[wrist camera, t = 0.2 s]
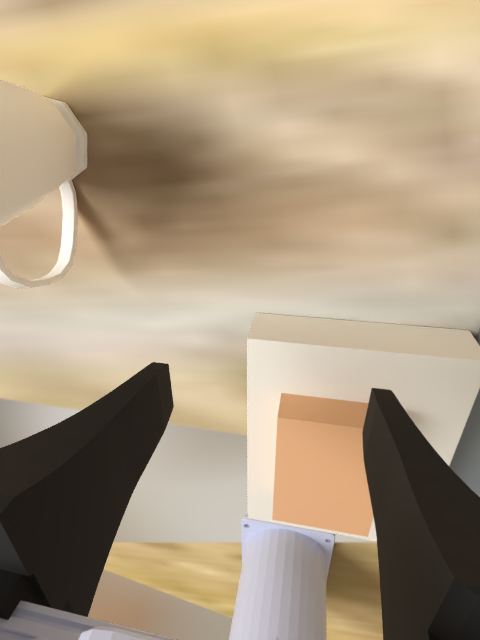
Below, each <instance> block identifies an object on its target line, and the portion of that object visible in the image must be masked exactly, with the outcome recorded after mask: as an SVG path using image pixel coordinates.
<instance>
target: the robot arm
mask: <svg viewBox="0 0 480 640" xmlns="http://www.w3.org/2000/svg"><path fill="white" fill-rule="evenodd" d="M173 407H174V406H173V398H172V389H171V381H170V373H169V365H168V364H164V363H155V362H153V363H151V364H150V365H148V366H147V367H145V368H144V369H142V370H141V371H140V372H138V373H137V374H135V375H134V376H133V377H131V378H130V379H129V380H127V381H126V382H124V383H123V384H121V385H120V386H119V387H117V388H116V389H114V390H113V391H111V392H110V393H109V394H107V395H105V396H104V397H102V398H101V399H99V400H98V401H96V402H94V403H93V404H91V405H90V406H88V407H87V408H85V409H83V410H82V411H80V412H78V413H76V414H75V415H73V416H71V417H69V418H67V419H66V420H64V421H62V422H60V423H58V424H56V425H54V426H52V427H50V428H48V429H45V430H43V431H41V432H39V433H37V434H34V435H32V436H30V437H28V438H25V439H23V440H20V441H18V442H15V443H13V444H11V445H8V446H5V447H2V448H0V640H177V639H173V638H169V637H165V636H161V635H157V634H153V633H149V632H145V631H141V630H137V629H133V628H129V627H125V626H121V625H117V624H113V623H109V622H105V621H101V620H97V619H93V618H89V617H88V613H89V611H90V608H91V604H92V601H93V598H94V595H95V592H96V589H97V586H98V583H99V580H100V577H101V574H102V572H103V569H104V566H105V563H106V560H107V557H108V554H109V552H110V549H111V546H112V544H113V541H114V538H115V536H116V533H117V530H118V527H119V525H120V522H121V520H122V517H123V515H124V513H125V510H126V508H127V505H128V503H129V500H130V498H131V495H132V493H133V491H134V489H135V487H136V485H137V482H138V481H139V479H140V476H141V475H142V473H143V471H144V469H145V468H146V466H147V464H148V462H149V460H150V458H151V456H152V454H153V452H154V451H155V449H156V447H157V445H158V443H159V441H160V439H161V437H162V435H163V433H164V431H165V429H166V426H167V423H168V421H169V418H170V415H171V412H172V410H173ZM362 437H363V457H364V465H365V471H366V477H367V483H368V488H369V494H370V500H371V505H372V511H373V517H374V522H375V529H376V536H377V546H378V559H379V572H380V587H381V603H382V621H383V640H480V497H479V496H478V495H477V494H476V493H475V492H474V491H472V490H471V489H470V488H469V487H468V486H467V484H466V483H465V482H464V481H463V480H462V479H461V478H460V477H459V476H458V475H457V474H456V473H455V472H454V471H453V470H452V469H451V468H450V467H449V466H448V465H447V463H446V462H445V461H444V460H443V459H442V458H441V456H440V455H439V454H438V453H437V452H436V451H435V449H434V448H433V447H432V446H431V444H430V443H429V442H428V441H427V439H426V438H425V437H424V435H423V434H422V433H421V431H420V430H419V429H418V428H417V426H416V425H415V423H414V422H413V421H412V419H411V418H410V416H409V415H408V414H407V412H406V411H405V409H404V408H403V406H402V405H401V403H400V402H399V400H398V399H397V397H396V396H395V394H394V393H393V392H392V391H391V390H387V389H379V388H372V389H371V394H370V399H369V403H368V408H367V413H366V417H365V422H364V427H363V431H362ZM241 522H242V523H241V527H242V570H241V575H240V581H239V586H238V592H237V598H236V603H235V609H234V614H233V620H232V625H231V631H230V636H229V640H326V582H327V577H328V572H329V567H330V562H331V557H332V552H333V547H334V541H335V534H333V533H327V532H321V531H316V530H310V529H305V528H299V527H294V526H288V525H283V524H277V523H272V522H266V521H261V520H255V519H250V518H248V515H244V516H243V517H242V521H241Z"/></svg>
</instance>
